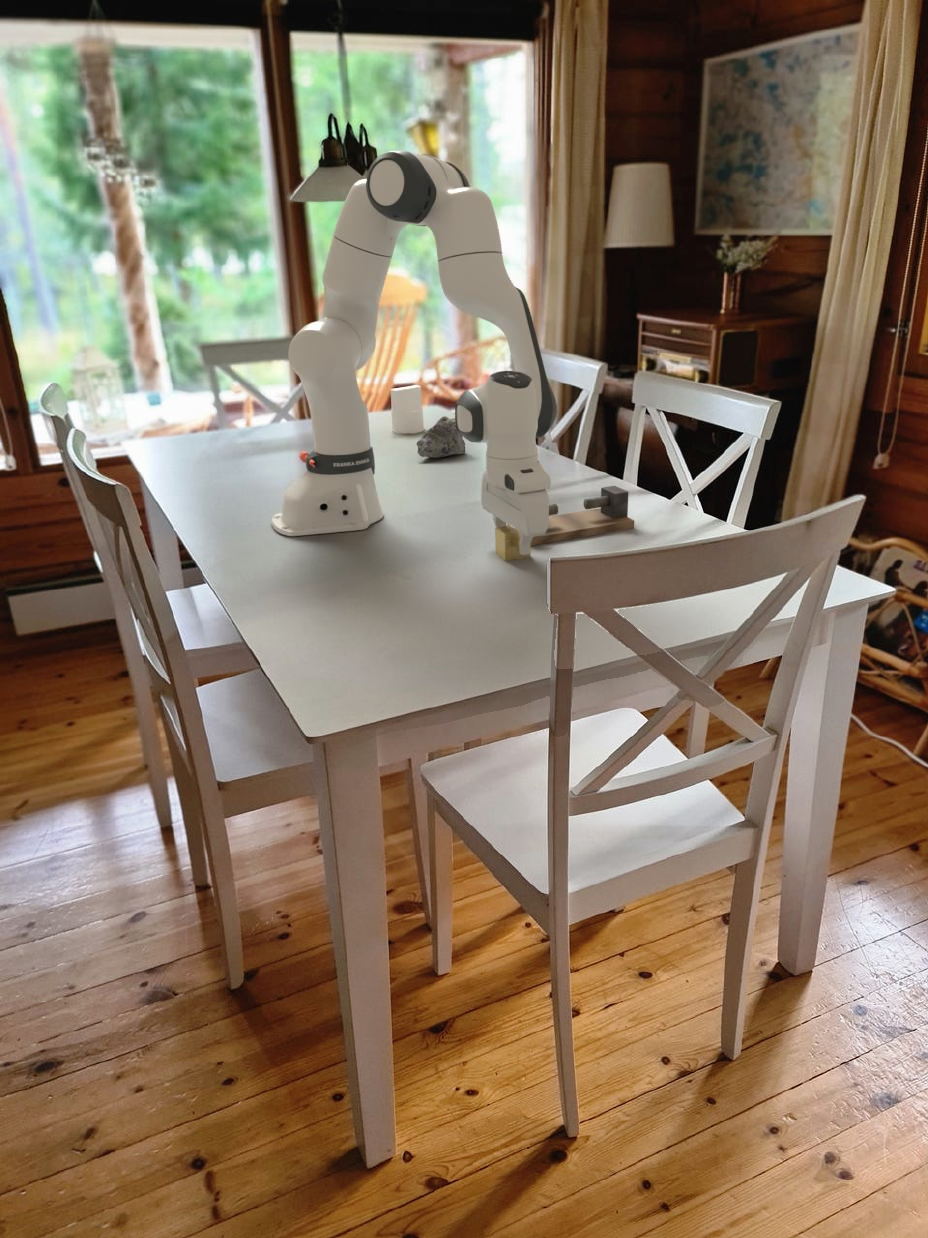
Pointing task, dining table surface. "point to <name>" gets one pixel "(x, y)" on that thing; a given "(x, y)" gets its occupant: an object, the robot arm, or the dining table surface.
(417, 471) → the dining table surface
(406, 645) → the dining table surface
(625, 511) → the shaft stand
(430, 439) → the mineral rock
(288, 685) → the dining table surface
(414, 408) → the cylinder with rectangular tab
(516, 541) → the yellow cube
